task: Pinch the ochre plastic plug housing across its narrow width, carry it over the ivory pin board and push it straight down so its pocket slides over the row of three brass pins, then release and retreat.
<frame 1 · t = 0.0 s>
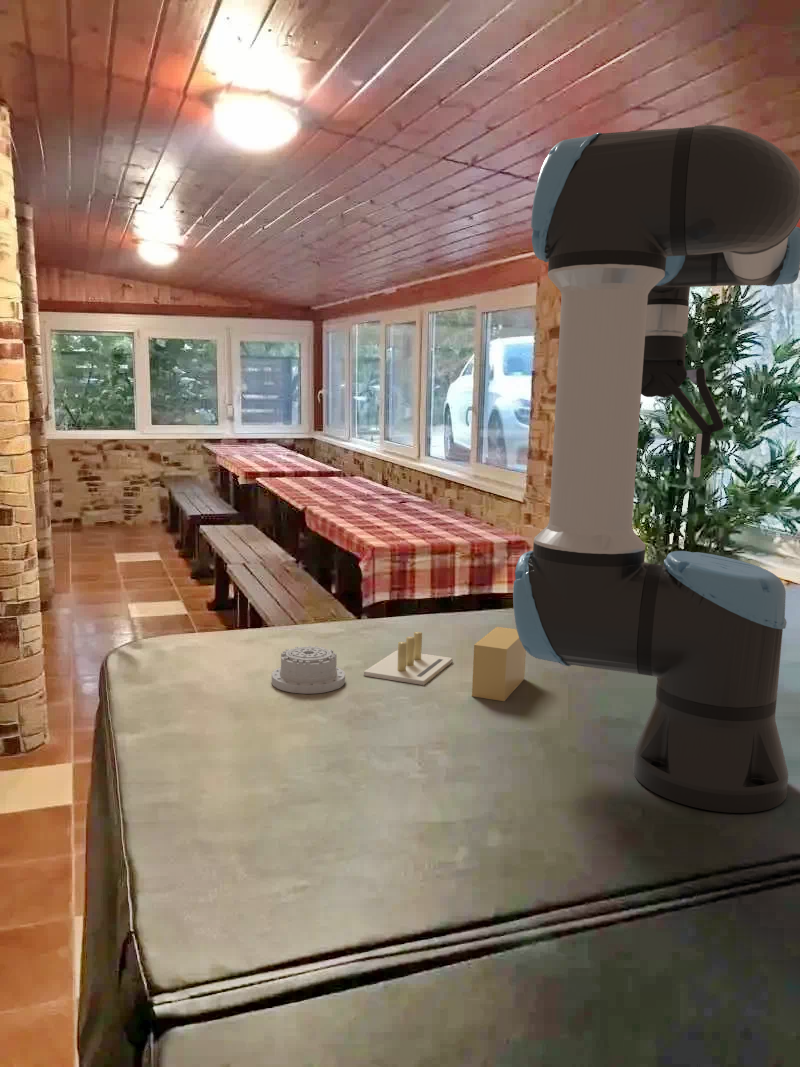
hand: (651, 474, 136), 28 cm above the table, fingers open, 13 cm apart
plug housing: (499, 687, 118), on the table
mechanical component: (308, 685, 118), on the table
pin board: (409, 668, 125), on the table
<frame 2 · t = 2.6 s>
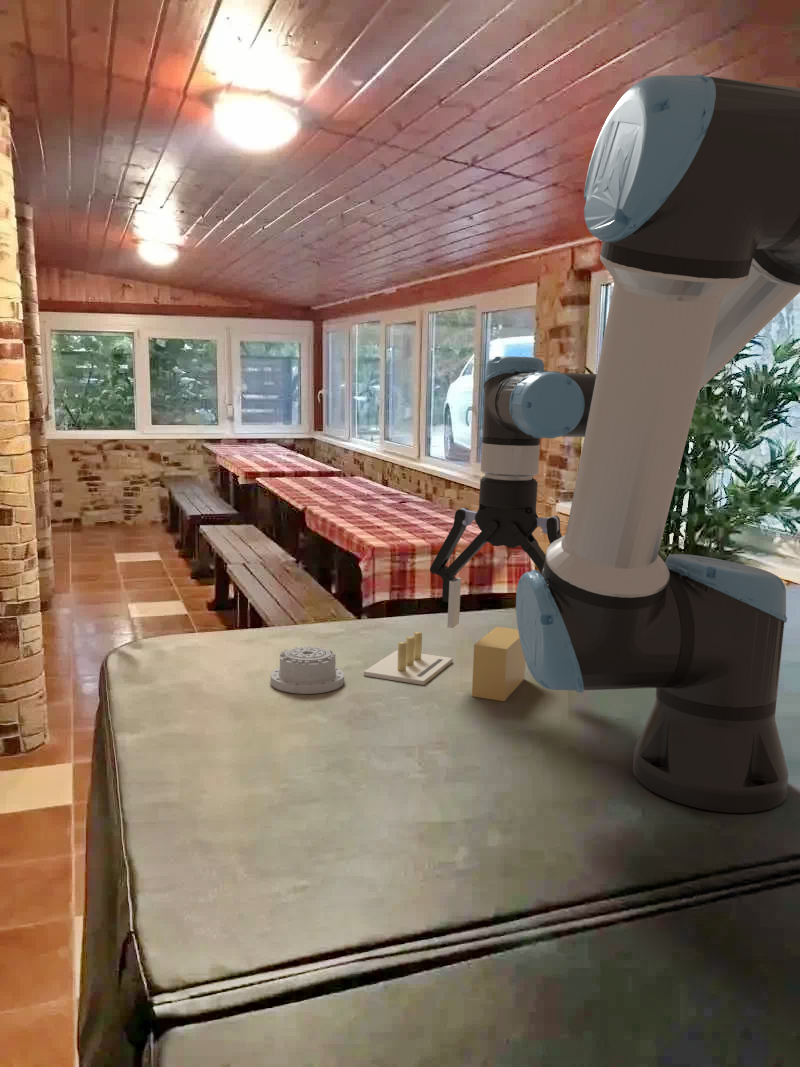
hand: (500, 632, 117), 8 cm above the table, fingers open, 13 cm apart
nothing on the table moved.
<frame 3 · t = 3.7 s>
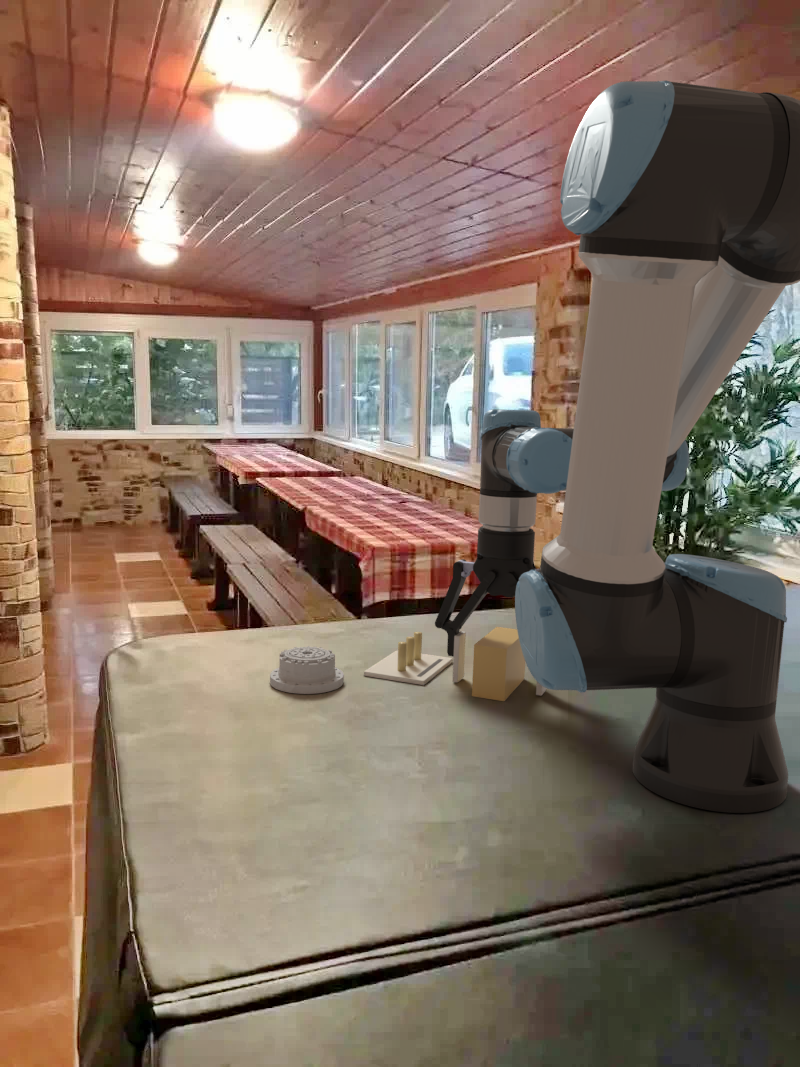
hand: (498, 685, 118), 0 cm above the table, fingers open, 11 cm apart
nothing on the table moved.
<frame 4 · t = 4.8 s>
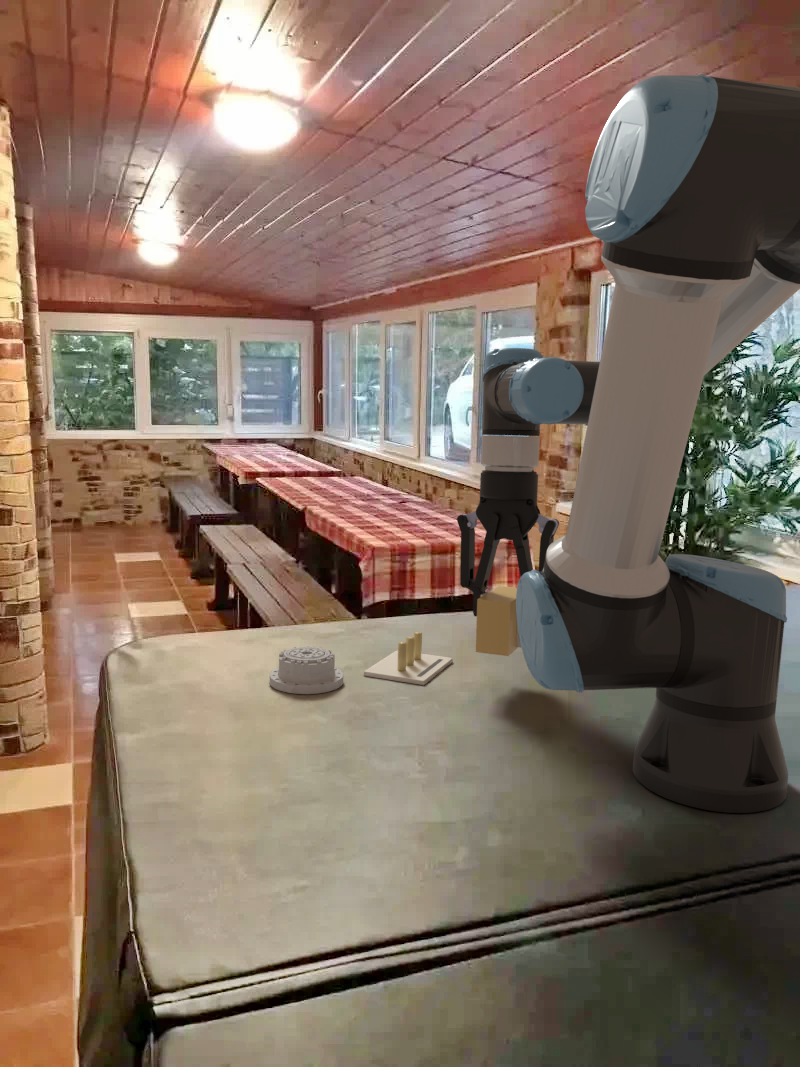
hand: (502, 642, 116), 6 cm above the table, fingers closed on plug housing, 4 cm apart
plug housing: (503, 644, 117), point 6 cm above the table, touching gripper
everything else where it was.
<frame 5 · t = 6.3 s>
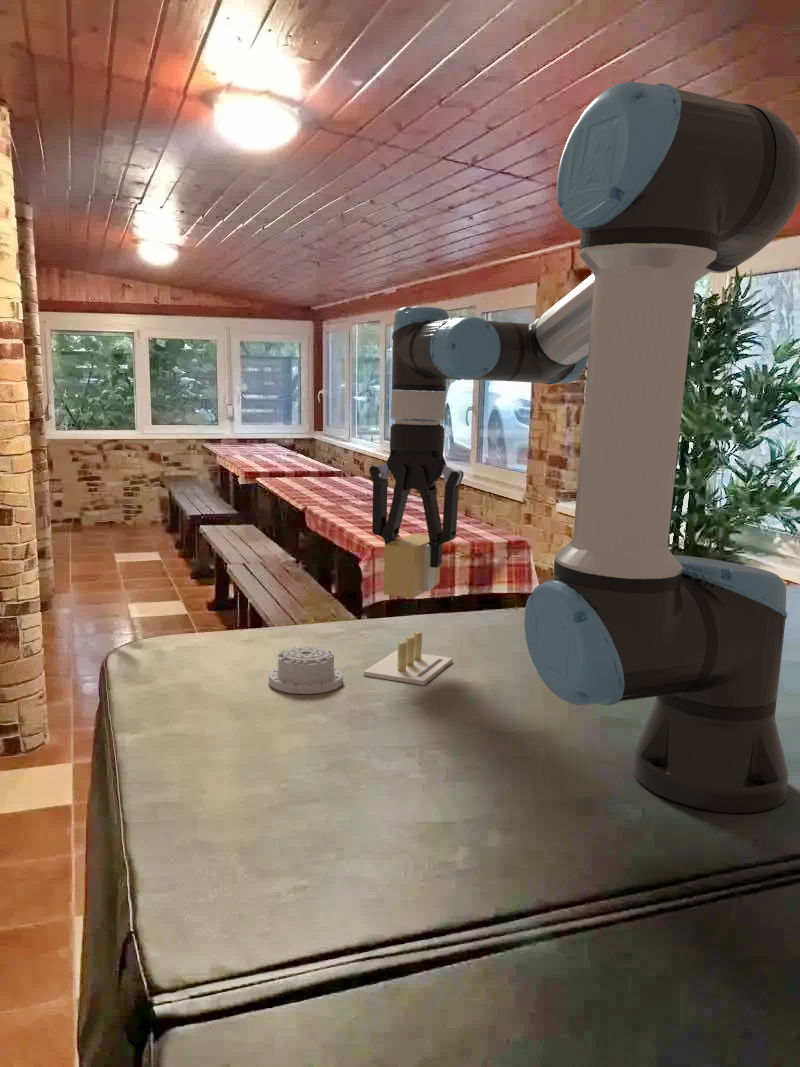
hand: (411, 586, 124), 12 cm above the table, fingers closed on plug housing, 4 cm apart
plug housing: (412, 588, 124), point 12 cm above the table, touching gripper
everything else where it was.
when the fingers open (1 cm above the table, at t = 7.9 s): plug housing stays where it is, resting on pin board.
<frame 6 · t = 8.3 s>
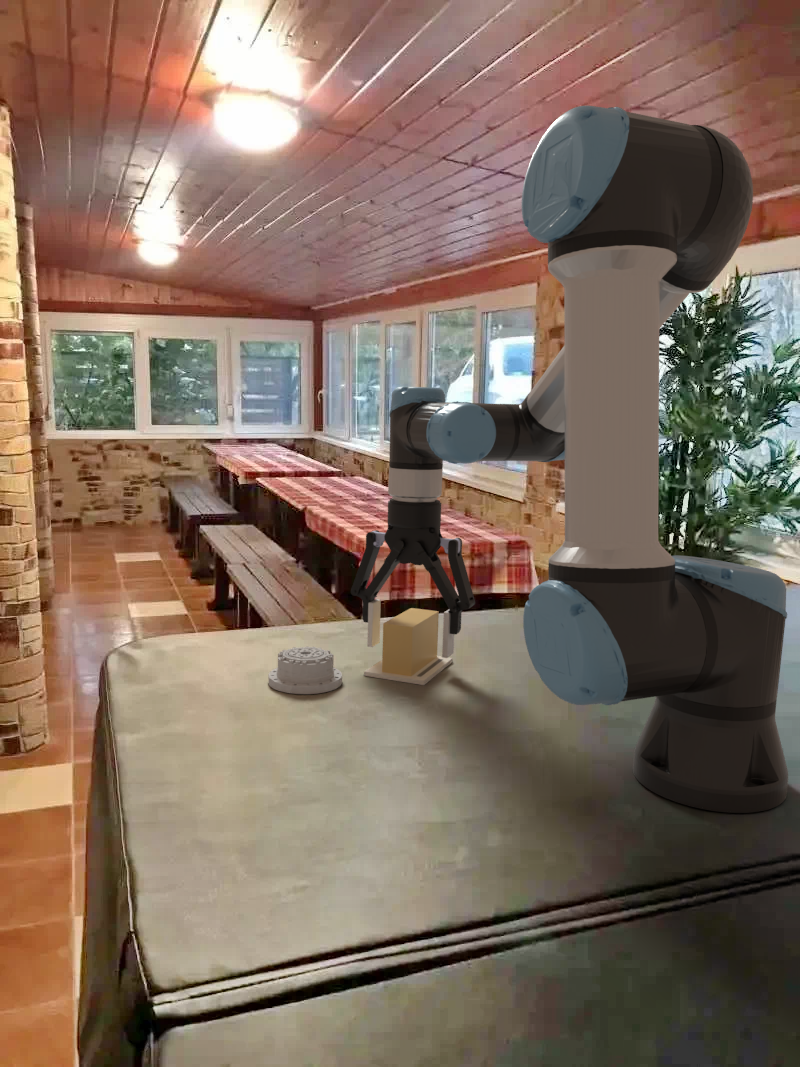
hand: (410, 649, 125), 3 cm above the table, fingers open, 11 cm apart
plug housing: (410, 664, 125), point 1 cm above the table, touching pin board
everything else where it was.
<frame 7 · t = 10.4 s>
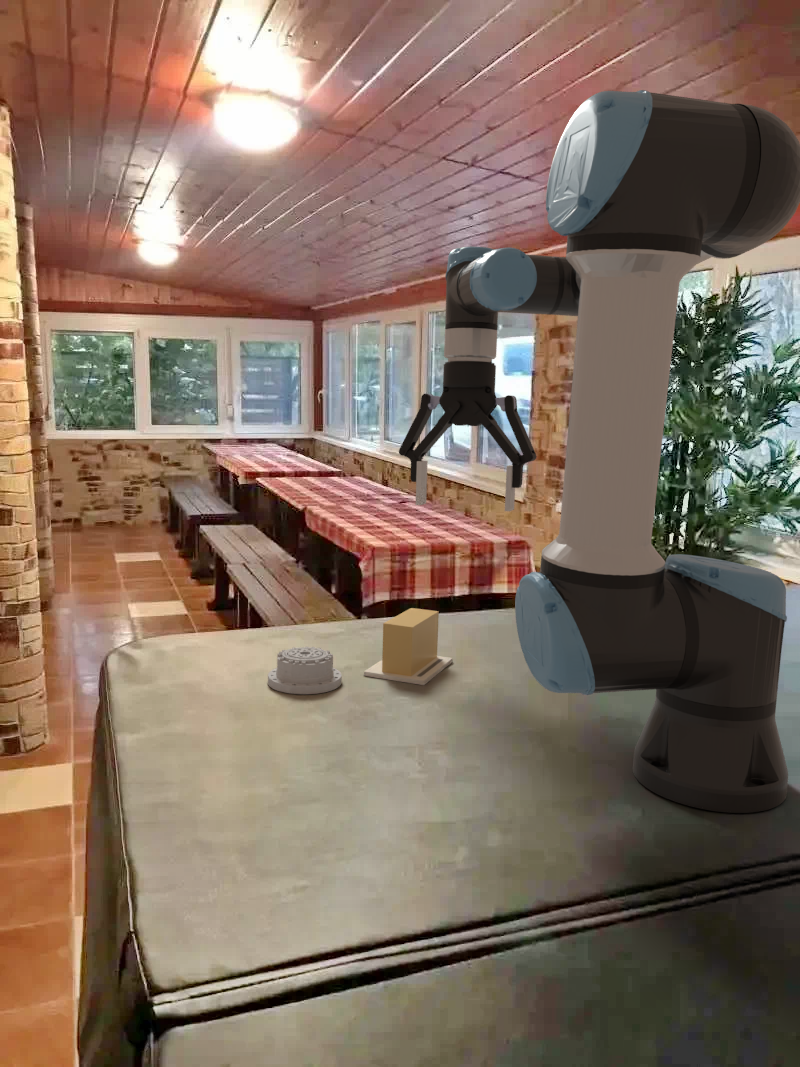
hand: (464, 507, 128), 23 cm above the table, fingers open, 13 cm apart
nothing on the table moved.
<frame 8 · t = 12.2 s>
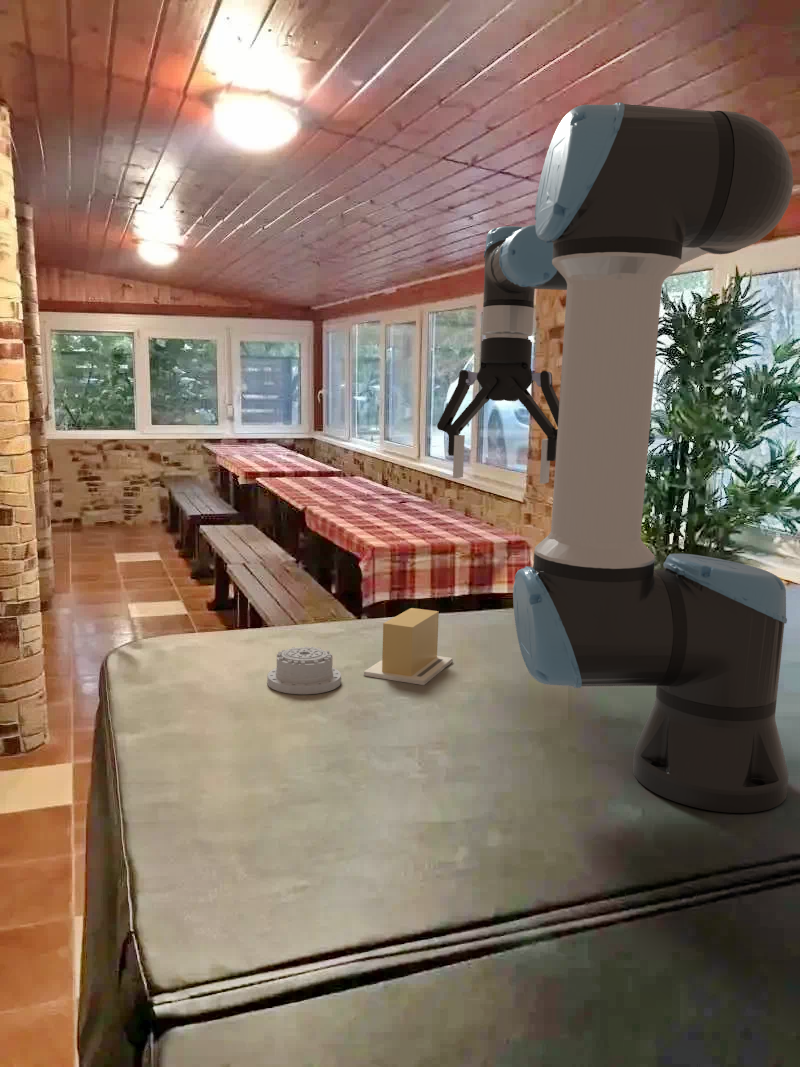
hand: (500, 480, 132), 27 cm above the table, fingers open, 13 cm apart
nothing on the table moved.
at the end: plug housing 0.2 cm off-centre on the pin board, point 0.6 cm above the pin board's base; plug housing tilted 0°; the gripper is holding nothing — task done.
